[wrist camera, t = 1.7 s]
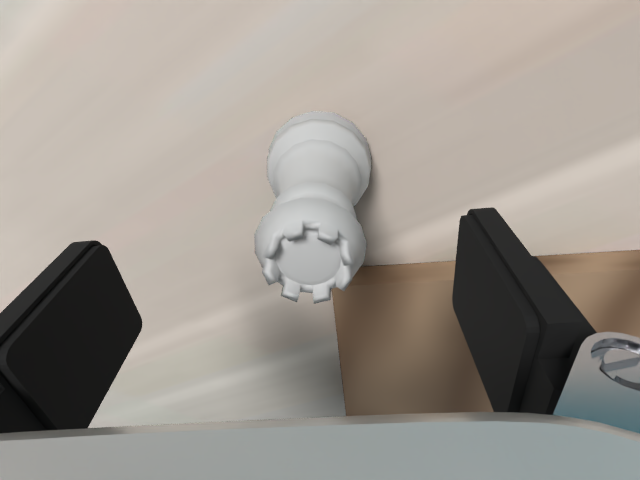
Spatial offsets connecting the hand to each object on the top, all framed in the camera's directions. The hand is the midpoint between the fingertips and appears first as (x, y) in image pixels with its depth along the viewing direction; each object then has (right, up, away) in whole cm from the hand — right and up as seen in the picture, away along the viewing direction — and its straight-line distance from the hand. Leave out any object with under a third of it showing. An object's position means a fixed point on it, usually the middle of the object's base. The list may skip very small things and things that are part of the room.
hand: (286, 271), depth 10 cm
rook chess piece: (+1, +4, +7) cm, 8 cm away
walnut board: (+10, -5, +12) cm, 16 cm away
